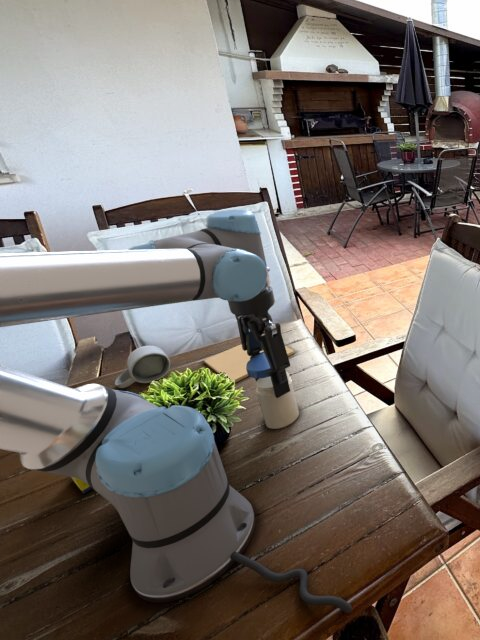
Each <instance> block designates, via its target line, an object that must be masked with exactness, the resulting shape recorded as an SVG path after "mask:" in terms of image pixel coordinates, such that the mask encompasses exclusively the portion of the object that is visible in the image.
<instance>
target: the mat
mask: <svg viewBox="0 0 480 640" xmlns="http://www.w3.org/2000/svg"><path fill="white" fill-rule="evenodd" d="M263 335H265V334H263ZM246 344H247V343H246ZM285 348H286V352H287V355H288V357H290V356H292V355H294V354H295V350H294V349H292V348H290V347H288V346H287V345H285ZM261 352H264V351H260V353H261ZM250 357H251V356H248V354H247V350H246V351H244V350H243V349H242V343H241V344H238V345H236V346H233V347H231V348H229V349H227V350H225V351H222V352H220V353H217V354H215V355H213V356H211V357H208V358H206V359H204V360H203V363H204V364H205V365H207V366H208V367H209V368H211V369H212V370H213V371H214V372H216V373H217V374H218V373H220V372H225V373H226V374H227V376H228V378H230V379H232V380H235V383H237V382H239V381H241V380H243V379H245V378H248V377H250V376H249V375H248V373H247V370H246V364H247V362H248V361H249V360H250Z"/></svg>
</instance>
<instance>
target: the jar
mask: <svg viewBox="0 0 480 640" xmlns="http://www.w3.org/2000/svg"><path fill="white" fill-rule="evenodd" d="M286 374H287V379H288V383H289V387H290V392H288V393H286V394H284V395H282V396H281V397H279V398H276V397H275V393H274V389H273V385H272V381H271V377H266V378H259V379H258V380H257V382H256V381H255V387H256V389H255V391H256V395H257V399H258V402H259V406H260V409H261V413H262V416H263V420H264V423H265V426H266V427H267V428H268V429H272V430H276V429H282V428H286V427H287V426H289V425H291V424H293V423H294V422H295V421H296V420H297V419H298V417H299V415H300V411H299V406H298V401H297V397H296V394H295V389H294V385H293V380H292V378H291V376H290V374H289V372H288V371H286Z"/></svg>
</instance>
